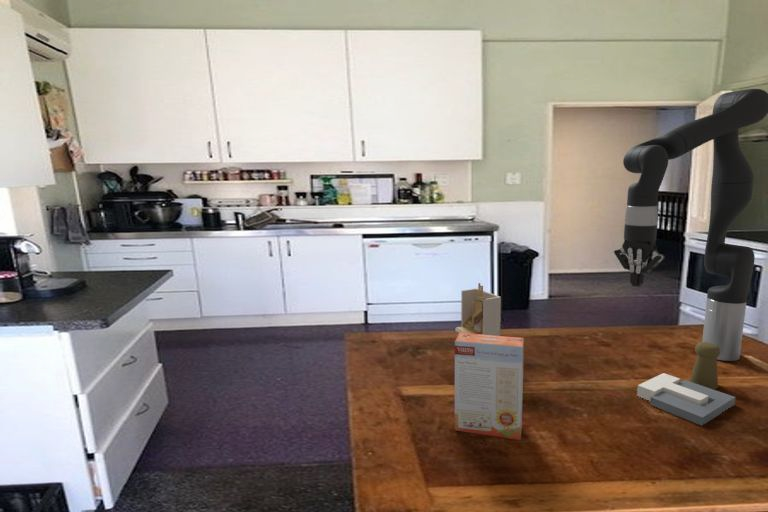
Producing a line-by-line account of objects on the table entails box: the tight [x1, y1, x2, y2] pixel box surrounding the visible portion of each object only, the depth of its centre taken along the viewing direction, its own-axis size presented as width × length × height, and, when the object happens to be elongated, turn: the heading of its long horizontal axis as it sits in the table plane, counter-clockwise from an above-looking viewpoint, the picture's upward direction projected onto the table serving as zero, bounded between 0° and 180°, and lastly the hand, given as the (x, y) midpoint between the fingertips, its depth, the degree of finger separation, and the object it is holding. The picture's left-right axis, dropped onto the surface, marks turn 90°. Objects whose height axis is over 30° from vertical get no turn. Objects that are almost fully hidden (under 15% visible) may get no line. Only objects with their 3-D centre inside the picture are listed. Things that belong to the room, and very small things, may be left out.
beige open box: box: [455, 282, 502, 336], centre depth 130 cm, size 8×12×26 cm
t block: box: [636, 372, 708, 407], centre depth 109 cm, size 12×12×3 cm
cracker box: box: [454, 332, 525, 441], centre depth 97 cm, size 14×6×21 cm, turn 71°
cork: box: [689, 341, 720, 390], centre depth 116 cm, size 6×6×11 cm
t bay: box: [649, 379, 736, 427], centre depth 106 cm, size 11×16×2 cm
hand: (636, 285), depth 123 cm, fingers closed
